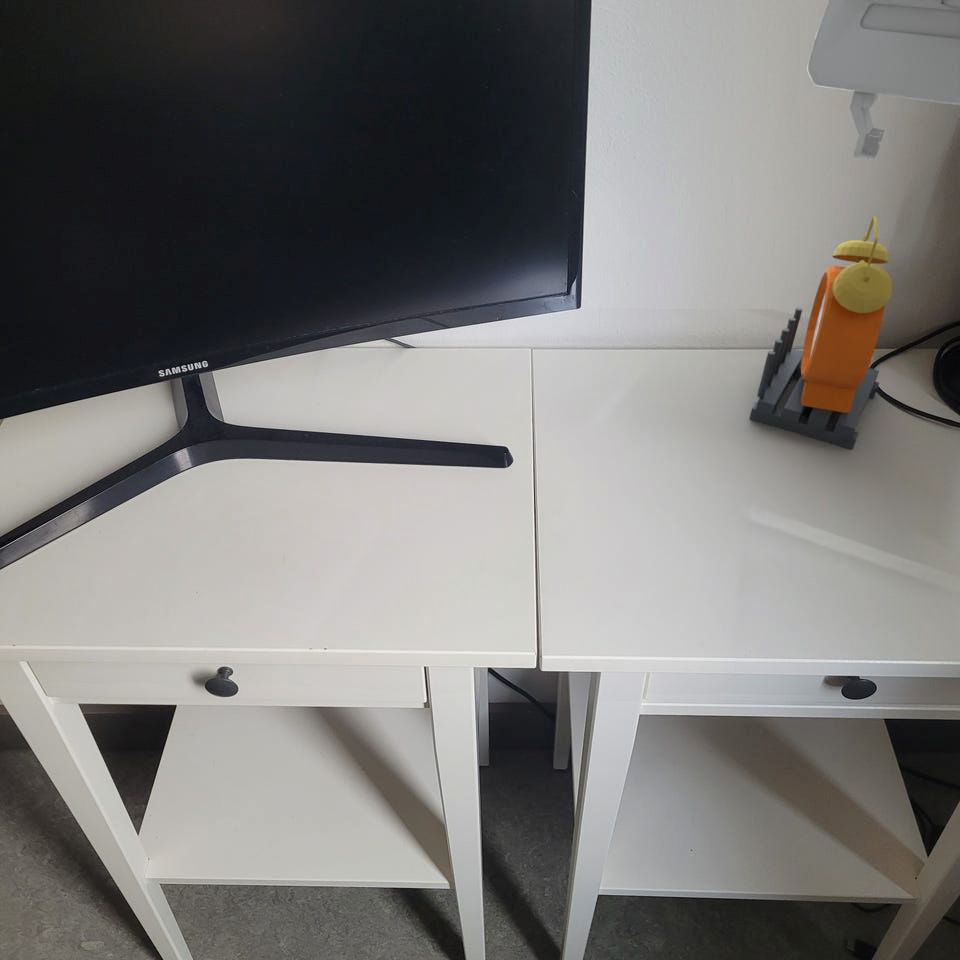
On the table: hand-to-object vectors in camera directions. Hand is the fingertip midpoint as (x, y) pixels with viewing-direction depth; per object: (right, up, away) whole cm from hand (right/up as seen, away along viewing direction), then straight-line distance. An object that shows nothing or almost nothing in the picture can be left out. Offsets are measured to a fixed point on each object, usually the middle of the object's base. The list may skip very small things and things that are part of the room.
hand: (932, 167), depth 59 cm
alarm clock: (+9, -11, +40) cm, 42 cm away
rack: (+8, -13, +42) cm, 44 cm away
